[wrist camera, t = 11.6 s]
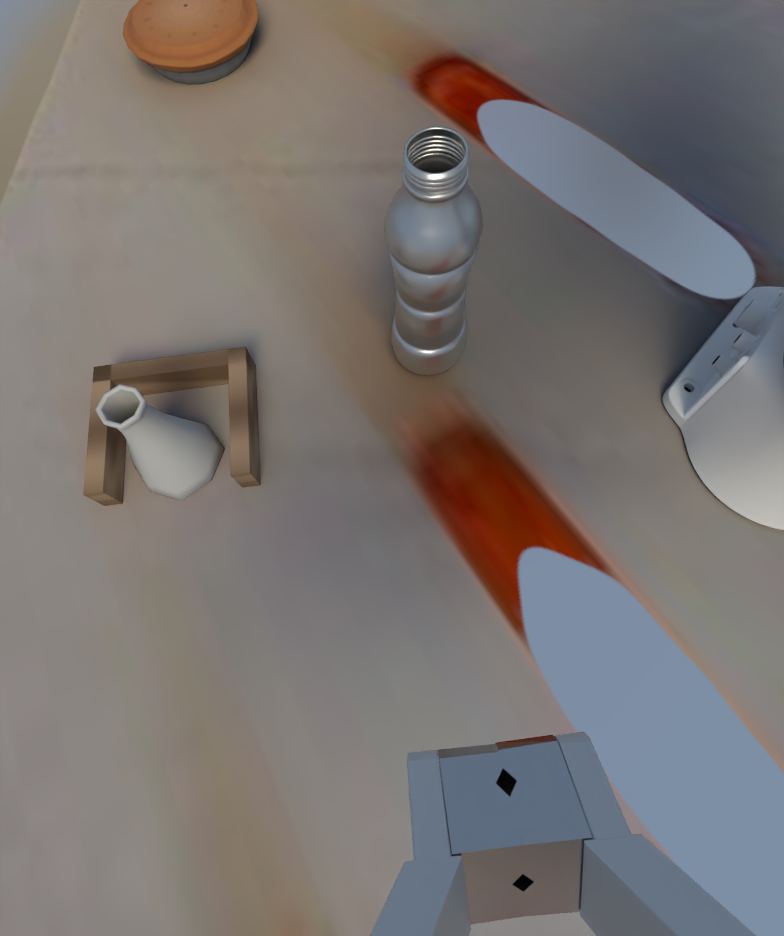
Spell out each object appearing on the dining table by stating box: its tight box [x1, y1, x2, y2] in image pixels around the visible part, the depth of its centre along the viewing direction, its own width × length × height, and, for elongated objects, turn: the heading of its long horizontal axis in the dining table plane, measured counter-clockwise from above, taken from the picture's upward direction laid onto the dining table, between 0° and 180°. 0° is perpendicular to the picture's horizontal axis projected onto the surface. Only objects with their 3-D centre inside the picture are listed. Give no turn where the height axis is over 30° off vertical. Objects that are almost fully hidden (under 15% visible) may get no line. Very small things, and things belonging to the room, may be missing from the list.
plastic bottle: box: [384, 126, 483, 375], centre depth 39 cm, size 6×7×20 cm
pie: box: [123, 0, 259, 84], centre depth 62 cm, size 15×16×5 cm
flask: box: [95, 384, 224, 500], centre depth 41 cm, size 7×7×10 cm
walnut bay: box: [83, 347, 260, 506], centre depth 45 cm, size 12×13×3 cm
